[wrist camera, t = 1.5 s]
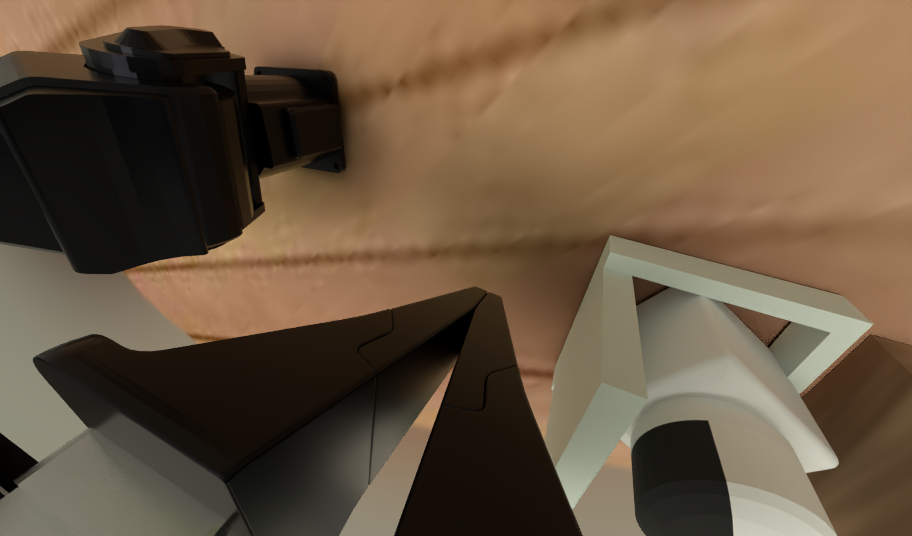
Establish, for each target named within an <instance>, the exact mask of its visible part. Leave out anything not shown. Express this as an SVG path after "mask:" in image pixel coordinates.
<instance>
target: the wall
mask: <svg viewBox="0 0 912 536" xmlns="http://www.w3.org/2000/svg"><path fill="white" fill-rule="evenodd" d="M802 400H803V402H804V404H805V405H806V407H807V408H808V410H809V412H810V413H811V415H812V417H813V418H814V420H815V422H816V423H817V425H818V427H819V428H820V430H821V431H822V433H823V435H824V436H825V438H826V440H827V441H828V443H829V445H830V446H831V448H832V450H833V451H834V453H835V455H836V456H837V458H838V462H839V464H838V466H837V467H835V468H833V469H827V470H821V471H815V472H809V473H806V474H807V476H808V478H809V480H810V482H811V484H812V486H813V488H814V490H815V492H816V494H817V496H818V498H819V500H820V502H821V504H822V506H823V508H824V510H825V512H826V514H827V516H828V518H829V520H830V522H831V524H832V526H833V528H834V530H835V532H836V534H837V536H912V346H910V345H906V344H903V343H899V342H896V341H892V340H889V339H885V338H881V337H878V336H874V335H870V336H869V337H868V338H867V339H866V340H865V341H864V342H863V343H861V344H860V345H859V346H858V347H857V348H856V349H855V350H854V351H853V352H852V353H851V354H850V355H849V356H847V357H846V358H845V359H844V360H843V361H842V362H841V363H840V364H839V365H838V366H837V367H836V368H835V369H833V370H832V371H831V372H830V373H829V374H828V375H827V376H826V377H825V378H824V379H823V380H822V381H821V382H819V383H818V384H817V385H816V386H815V387H814V388H813V389H812V390H811V391H810V392H809V393H808V394H806V395H805V396H804V397H803V398H802Z"/></svg>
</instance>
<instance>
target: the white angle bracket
mask: <svg viewBox="0 0 912 536" xmlns="http://www.w3.org/2000/svg"><path fill="white" fill-rule="evenodd" d="M632 276H635V277H638V278H642V279H645V280H649V281H652V282H656V283H659V284H663V285H666V286H670V287H673V288H677V289H680V290H684V291H687V292H691V293H694V294H698V295H701V296H706V297H708V298H711V299H715V300H718V301H722V302H725V303H729V304H732V305H736V306H739V307H743V308H746V309H750V310H753V311H757V312H760V313H764V314H767V315H771V316H774V317H778V318H781V319H785V320H788V321H792V322H791V323H790V325H789V326H788V327H787V328H786V329H785V330H784V331H783V332H782V334H781V335H780V336H779V337H778V338H777V339H776V340H775V342H774V343H773V344H772V345H771V346H770V347H769V349H770V350H771V351H772V353H773V354H774V356H775V358H776V359H777V361H778V363H779V364H780V366H781V368H782V369H783V371H784V373H785V374H786V376H787V378H788V379H789V380H790V381H791V382H792V384H793V385H794V387H795V389H796V390H797V392H798V394H800V393H801V392H802V391H803V390H804V389H805V388H807V387H808V386H809V385H810V384H811V383H812V382H813V381H814V380H815V379H816V378H817V377H818V376H819V375H820V374H821V373H822V372H823V371H825V370H826V369H827V368H828V367H829V366H830V365H831V364H832V363H833V362H834V361H835V360H836V359H837V358H838V357H839V356H840V355H842V354H843V353H844V352H845V351H846V350H847V349H848V348H849V347H850V346H851V345H852V344H853V343H854V342H855V341H856V340H857V339H858V338H860V337H861V336H862V335H863V334H864V333H865V332H866V331H867V330H868V329H869V328H870V327H871V326H872V325H873V323H872V322H871V321H870V320H869V319H868V318H867V317H865V316H864V315H863V314H862V313H861V312H860V311H859V310H858V309H857V308H856V307H855V306H854V305H852V304H851V303H850V302H849V301H848V300H847V299H846V298H845V297H844V296H841V295H837V294H834V293H830V292H826V291H822V290H818V289H814V288H811V287H807V286H803V285H799V284H795V283H792V282H788V281H784V280H780V279H776V278H772V277H769V276H765V275H761V274H757V273H753V272H749V271H746V270H742V269H738V268H734V267H730V266H727V265H723V264H719V263H715V262H711V261H707V260H704V259H700V258H696V257H692V256H688V255H684V254H681V253H677V252H673V251H669V250H665V249H662V248H658V247H654V246H650V245H646V244H642V243H639V242H635V241H631V240H627V239H623V238H620V237H616V236H612V235H610V236H609V238H608V241H607V243H606V245H605V248H604V250H603V253H602V255H601V257H600V260H599V262H598V265H597V267H596V269H595V272H594V274H593V277H592V279H591V281H590V284H589V286H588V289H587V291H586V293H585V296H584V298H583V301H582V303H581V305H580V308H579V310H578V313H577V315H576V317H575V320H574V322H573V325H572V327H571V329H570V332H569V334H568V337H567V339H566V341H565V344H564V346H563V349H562V351H561V353H560V356H559V358H558V361H557V363H556V365H555V370H554V375H553V381H552V387H551V390H553V395H552V400H551V406H550V412H549V418H548V424H547V430H546V436H545V444H546V447H547V449H548V452H549V454H550V457H551V459H552V461H553V464H554V466H555V469H556V471H557V474H558V476H559V479H560V481H561V484H562V486H563V489H564V491H565V493H566V496H567V498H568V501H569V503H570V506H571V508H572V509H573V508H574V506H575V505H576V503H577V502H578V500H579V499H580V497H581V496H582V494H583V493H584V491H585V490H586V489H587V487H588V486H589V484H590V483H591V481H592V480H593V478H594V477H595V475H596V474H597V473H598V471H599V470H600V468H601V467H602V465H603V464H604V463H605V461H606V460H607V458H608V457H609V455H610V454H611V452H612V451H613V449H614V448H615V447H616V445H617V444H618V442H619V441H620V439H621V438H622V436H623V435H624V433H625V432H626V431H627V429H628V428H629V426H630V425H631V423H632V422H633V420H634V419H635V417H636V416H637V415H638V413H639V412H640V410H641V409H642V407H643V406H644V404H645V403H646V401H647V400H648V396H647V388H646V381H645V373H644V365H643V357H642V349H641V342H640V334H639V326H638V318H637V311H636V303H635V295H634V287H633V279H632Z"/></svg>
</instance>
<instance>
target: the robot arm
mask: <svg viewBox="0 0 912 536" xmlns="http://www.w3.org/2000/svg"><path fill="white" fill-rule="evenodd" d="M79 45H80V48H81V51H82V54H83V55H77V54H63V53H48V52H34V51H15V52H11V53H9V54H6V55H4V56H2V57H0V244H5V245H11V246H17V247H23V248H29V249H35V250H41V251H47V252H53V253H59V254H65V255H66V257H67V259H68V261H69V263H70V265H71V266H72V268H73V270H74V271H75V272H78V273H84V274H113V273H117V272H121V271H124V270H127V269H130V268H134V267H137V266H140V265H144V264H147V263H151V262H155V261H159V260H164V259H169V258H175V257H181V256H196V255H206V254H208V250H211V249H215V248H217V247H220V246H222V245H224V244H225V243H227V242H229V241H231V240H233V239H235V238H238V237H239V236H240V235H241V234H242V230H243V229H244V228H245V227H247V226H248V225H249V224H250V223H251V222H253V221H254V220H255V219H256V218H257V217H259V216H260V215H261V214H262V213H263V212H265V206H264V202H262V196H261V189H260V182H259V179H260V178H263V177H267V176H270V175H274V174H277V173H281V172H284V171H287V170H291V169H294V168H298V167H304V168H310V169H316V170H322V171H328V172H334V173H340V172H343V171H344V170H345V168H346V165H345V157H344V149H343V141H342V132H341V124H340V116H339V108H338V100H337V92H336V83H335V78H334V75H333V74H332V73H331V72H330V71H326V70H309V69H293V68H276V67H256V68H255V69H254V75H245V73H244V70H246V65H245V58H244V57H242V56H238V55H235V54H231V53H230V51H227V50H225V48H224V47H223V46H222V45H221V44H220V42H219V41H218V39H217V38H216V37H215V35H214V34H213V32H210V31H206V30H201V29H193V28H184V27H175V26H143V27H127V28H126V29H125V30H124V31H123V32H120V33H115V34H111V35H107V36H103V37H98V38H94V39H90V40H85V41H81V42H79ZM326 77H327V78H328V82H326ZM337 163H338V164H339V167H338V166H337ZM33 363H34V365H35V367H36V368H37V370H38V371H39V372H40V373H41V375H42V376H43V377H44V378H45V379H46V381H47V382H48V383H49V384H50V385H51V386H52V387H53V389H54V390H55V391H56V392H57V393H58V394H59V395H60V397H61V398H62V399H63V400H64V401H65V402H66V403H67V404H68V406H69V407H70V408H71V409H72V410H73V411H74V412H75V414H76V415H77V416H78V417H79V418H80V419H81V420H82V421H83V423H84V424H85V425H86V426H87V427H88V429H86V430H85V431H83V432H82V433H81V434H79V435H78V436H76V437H75V438H73V439H72V440H70V441H69V442H68V443H66V444H65V445H63V446H62V447H60V448H59V449H57V450H56V451H55V452H53V453H52V454H50V455H49V456H47V457H46V458H45V459H43V460H42V461H40V462H38V461H36V460H35V459H34V458H32V457H31V456H29V455H28V454H27V453H26V452H24V451H23V450H22V449H21V448H19V447H18V446H17V445H15V444H14V443H13V442H11V441H10V440H9V439H8V438H6V437H5V436H4V435H2V434H1V433H0V536H339V535H340V533H341V531H342V529H343V527H344V525H345V524H346V522H347V520H348V518H349V516H350V515H351V512H352V511H353V509H354V507H355V506H356V504H357V503H358V501H359V500H360V498H361V496H362V495H363V493H364V492H365V491H366V489H367V487H368V485H370V483H371V482H372V481H373V479H374V478H375V476H376V475H377V474H378V472H379V471H380V469H381V468H382V466H383V465H384V463H385V462H386V461H387V459H388V458H389V456H390V455H391V454H392V452H393V451H394V449H395V448H396V446H397V445H398V444H399V442H400V441H401V439H402V438H403V436H404V435H405V433H406V432H407V431H408V430H409V428H410V427H411V425H412V424H413V422H414V421H415V420H416V418H417V417H418V415H419V414H420V412H421V411H422V410H423V408H424V407H425V405H426V404H427V403H428V401H429V400H430V398H431V397H432V395H433V394H434V393H435V391H436V390H437V388H438V387H439V386H440V384H441V383H442V381H443V380H444V378H445V377H446V376H447V374H448V373H449V371H450V370H451V368H452V367H453V366H454V364H455V363H456V364H455V367H454V369H453V372H452V375H451V378H450V381H449V383H448V386H447V389H446V392H445V395H444V397H443V400H442V403H441V406H440V409H439V411H438V414H437V417H436V420H435V422H434V425H433V428H432V431H431V434H430V436H429V439H428V442H427V445H426V448H425V450H424V453H423V456H422V459H421V462H420V464H419V467H418V470H417V473H416V476H415V479H414V481H413V484H412V487H411V490H410V493H409V495H408V498H407V501H406V504H405V507H404V509H403V512H402V515H401V518H400V521H399V523H398V526H397V529H396V532H395V535H394V536H583V535H582V533H581V531H580V528H579V525H578V523H577V521H576V518H575V516H574V513H573V511H572V508H571V506H570V503H569V501H568V498H567V496H566V493H565V491H564V489H563V486H562V484H561V481H560V479H559V476H558V474H557V471H556V469H555V466H554V464H553V461H552V459H551V457H550V454H549V452H548V449H547V447H546V444H545V442H544V439H543V437H542V434H541V432H540V429H539V427H538V424H537V422H536V420H535V417H534V415H533V412H532V409H531V407H530V404H529V401H528V399H527V396H526V393H525V390H524V386H523V383H522V379H521V375H520V371H519V368H518V365H517V360H516V356H515V352H514V348H513V344H512V340H511V336H510V331H509V327H508V323H507V319H506V315H505V311H504V307H503V302H502V298H501V297H500V296H498V295H495V294H493V293H490V292H489V293H487V291H486V290H483V289H481V288H478V287H471V288H468V289H464V290H460V291H456V292H453V293H449V294H445V295H441V296H438V297H434V298H430V299H426V300H423V301H419V302H415V303H411V304H408V305H404V306H400V307H396V308H393V309H391V310H390V309H387V310H383V311H380V312H376V313H371V314H367V315H363V316H358V317H353V318H348V319H342V320H337V321H331V322H325V323H319V324H313V325H307V326H302V327H296V328H290V329H284V330H278V331H272V332H266V333H260V334H254V335H249V336H243V337H237V338H231V339H225V340H219V341H213V342H207V343H202V344H196V345H190V346H184V347H178V348H172V349H166V350H160V351H136V350H130V349H128V348H125V347H123V346H121V345H120V344H118V343H116V342H115V341H113V340H111V339H109V338H107V337H105V336H102V335H98V334H97V335H96V334H92V335H88V336H85V337H81V338H78V339H75V340H71V341H69V342H66V343H64V344H61V345H58V346H56V347H54V348H51V349H49V350H47V351H45V352H43V353H41V354H39V355H37V356H35V357H34V358H33Z"/></svg>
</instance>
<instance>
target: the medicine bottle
mask: <svg viewBox="0 0 912 536" xmlns="http://www.w3.org/2000/svg"><path fill="white" fill-rule="evenodd" d="M636 311H637V318H638V326H639V334H640V342H641V349H642V357H643V365H644V373H645V381H646V388H647V396H648V400H647V401H646V403H645V404H644V406H643V407H642V409H641V410H640V412H639V413H638V415H637V416H636V417H635V419H634V420H633V422H632V423H631V425H630V426H629V428H628V429H627V431H626V432H625V433H624V435H623V436H622V438H621V440H622V441H623V442H624V443H625V444H626V445H627V446H628V447H629V448H630V449H631V459H632V474H633V488H634V503H635V515H636V520H637V522H638V524H639V527H640V528H641V530H642V531H643V532H644V534H645V535H646V536H837V534H836V532H835V530H834V528H833V526H832V524H831V522H830V520H829V518H828V516H827V514H826V512H825V510H824V508H823V506H822V504H821V502H820V500H819V498H818V496H817V494H816V492H815V490H814V488H813V486H812V484H811V482H810V480H809V478H808V476H807V474H806V473H809V472H815V471H821V470H827V469H833V468H835V467H837V466H838V464H839V462H838V458H837V456H836V455H835V453H834V451H833V450H832V448H831V446H830V445H829V443H828V441H827V440H826V438H825V436H824V435H823V433H822V431H821V430H820V428H819V427H818V425H817V423H816V422H815V420H814V418H813V417H812V415H811V413H810V412H809V410H808V408H807V407H806V405H805V404H804V402H803V400H802V399H801V397H800V395H799V394H798V392H797V390H796V389H795V387H794V385H793V384H792V382H791V381H790V380H789V379H788V378H787V376H786V374H785V373H784V371H783V369H782V368H781V366H780V364H779V363H778V361H777V359H776V358H775V356H774V354H773V353H772V351H771V350H770V349H769V348H768V347H767V346H766V345H765V344H764V343H763V342H762V341H761V340H760V339H759V338H758V337H757V336H756V335H755V334H754V333H753V332H752V331H751V330H750V329H749V328H748V327H747V326H746V325H745V324H744V323H743V322H742V321H741V320H740V319H739V318H738V317H737V316H736V315H735V314H734V313H733V312H732V311H731V310H730V309H729V308H728V307H727V306H726V305H725V304H724V303H723V302H722V301H718V300H715V299H711V298H708V297H706V296H701V295H698V294H694V293H691V292H687V291H684V290H680V289H677V288H673V287H670V288H668V289H666V290H664V291H662V292H661V293H659V294H657V295H655V296H653V297H652V298H650V299H648V300H646V301H644V302H642V303H641V304H639V305H637V306H636Z"/></svg>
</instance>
